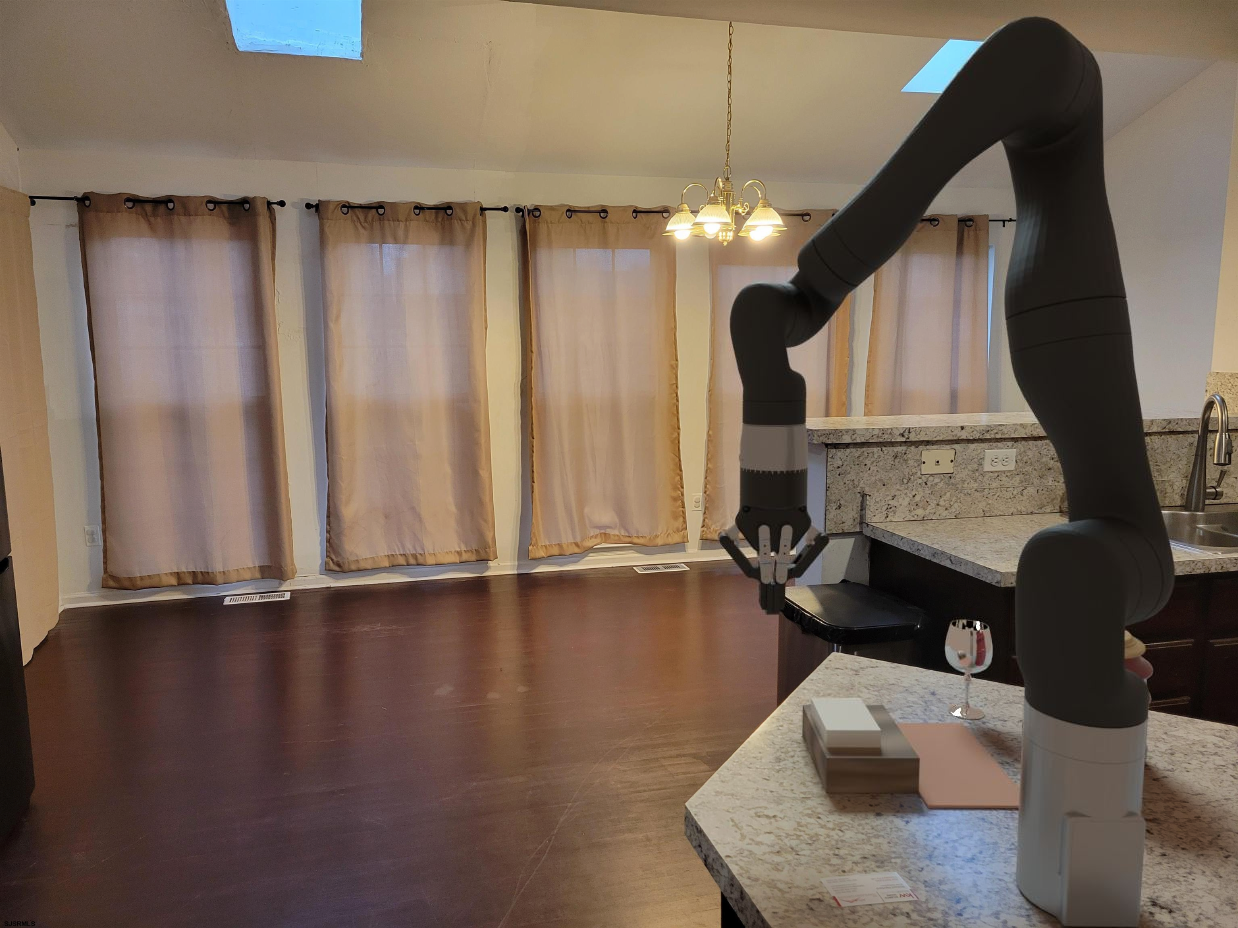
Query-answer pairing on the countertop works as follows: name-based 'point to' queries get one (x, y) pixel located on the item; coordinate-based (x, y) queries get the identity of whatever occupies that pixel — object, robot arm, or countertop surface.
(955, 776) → the mat
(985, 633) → the wineglass
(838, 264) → the robot arm
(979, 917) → the countertop surface
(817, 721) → the pale grey rectangular block
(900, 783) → the block
